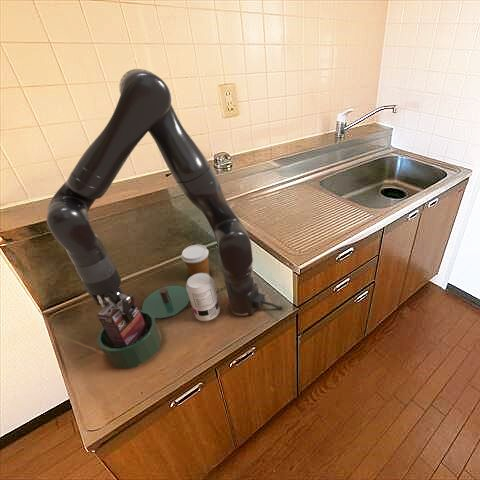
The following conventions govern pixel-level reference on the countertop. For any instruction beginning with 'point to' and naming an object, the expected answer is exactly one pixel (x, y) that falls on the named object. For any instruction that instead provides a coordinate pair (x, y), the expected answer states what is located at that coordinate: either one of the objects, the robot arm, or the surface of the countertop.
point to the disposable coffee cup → (196, 259)
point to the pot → (133, 346)
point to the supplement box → (122, 326)
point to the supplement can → (203, 296)
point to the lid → (166, 301)
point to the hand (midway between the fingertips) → (122, 317)
